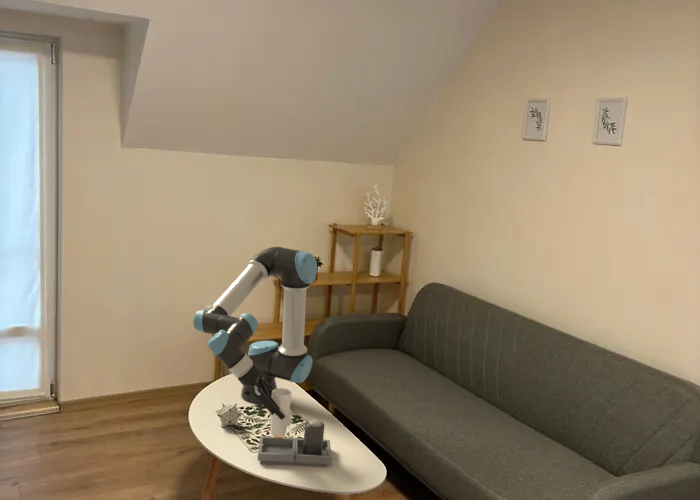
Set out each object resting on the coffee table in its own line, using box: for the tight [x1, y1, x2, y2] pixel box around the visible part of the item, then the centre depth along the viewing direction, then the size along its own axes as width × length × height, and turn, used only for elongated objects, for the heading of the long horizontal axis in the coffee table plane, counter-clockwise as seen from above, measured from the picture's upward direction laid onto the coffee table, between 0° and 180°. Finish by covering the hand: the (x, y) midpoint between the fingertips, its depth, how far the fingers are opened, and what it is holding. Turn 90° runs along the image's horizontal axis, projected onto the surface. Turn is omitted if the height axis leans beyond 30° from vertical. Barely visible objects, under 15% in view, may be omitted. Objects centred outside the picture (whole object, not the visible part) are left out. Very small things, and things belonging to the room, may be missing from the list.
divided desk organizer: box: [257, 418, 333, 468], centre depth 222 cm, size 13×24×13 cm, turn 95°
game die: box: [216, 403, 242, 428], centre depth 240 cm, size 9×8×10 cm
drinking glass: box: [269, 387, 292, 437], centre depth 220 cm, size 7×7×15 cm
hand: (289, 419), depth 220 cm, fingers closed on drinking glass, 7 cm apart
